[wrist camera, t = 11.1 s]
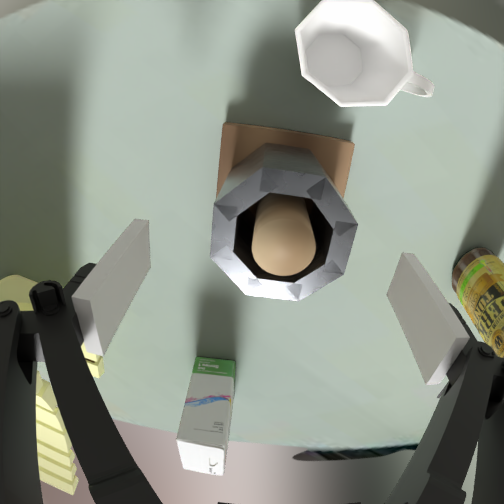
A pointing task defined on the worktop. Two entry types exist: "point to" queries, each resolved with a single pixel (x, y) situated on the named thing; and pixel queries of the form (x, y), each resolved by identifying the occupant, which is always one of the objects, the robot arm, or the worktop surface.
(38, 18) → the worktop surface
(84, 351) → the slatted curved stool
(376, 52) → the cup
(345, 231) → the grey hollow octagonal piece
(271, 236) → the post
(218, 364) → the ink box
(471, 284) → the sauce bottle
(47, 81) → the worktop surface
